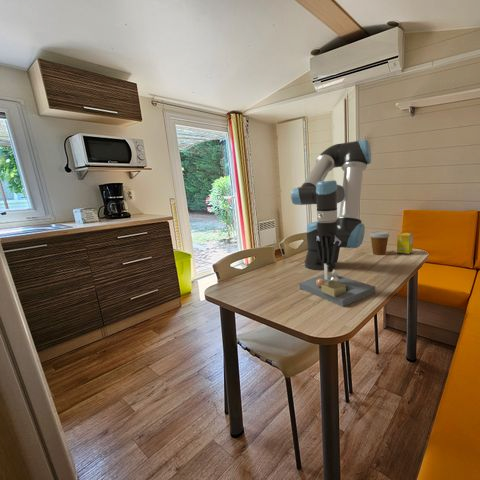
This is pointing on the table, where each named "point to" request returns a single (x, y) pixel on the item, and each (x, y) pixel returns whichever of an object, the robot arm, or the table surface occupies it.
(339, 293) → the brass cover
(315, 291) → the slate plate
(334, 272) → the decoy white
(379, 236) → the disposable coffee cup
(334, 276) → the steel ball
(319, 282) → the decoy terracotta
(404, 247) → the supplement box
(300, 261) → the table surface
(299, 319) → the table surface
